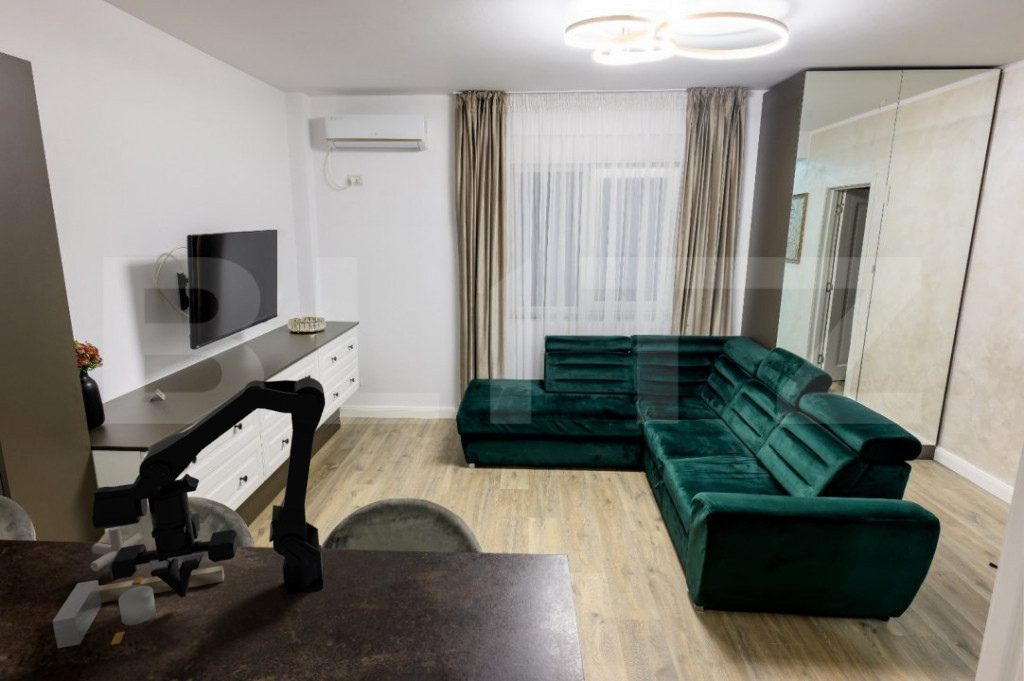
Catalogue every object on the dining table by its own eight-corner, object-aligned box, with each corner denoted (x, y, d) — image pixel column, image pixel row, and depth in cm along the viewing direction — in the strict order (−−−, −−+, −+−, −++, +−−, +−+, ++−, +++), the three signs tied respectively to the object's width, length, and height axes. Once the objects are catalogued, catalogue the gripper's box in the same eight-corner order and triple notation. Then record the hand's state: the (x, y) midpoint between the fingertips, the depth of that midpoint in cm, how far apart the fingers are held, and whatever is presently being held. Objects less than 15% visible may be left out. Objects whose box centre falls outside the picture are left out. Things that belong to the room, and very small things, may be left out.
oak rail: (224, 576, 110) (222, 563, 109) (222, 581, 108) (221, 568, 108) (90, 599, 103) (88, 585, 103) (87, 605, 102) (84, 591, 101)
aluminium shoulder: (102, 604, 102) (97, 580, 101) (79, 644, 92) (74, 617, 91) (82, 608, 101) (77, 583, 100) (57, 648, 92) (52, 621, 90)
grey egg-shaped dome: (159, 603, 102) (156, 583, 102) (151, 621, 98) (148, 601, 97) (127, 608, 101) (123, 589, 100) (117, 628, 96) (114, 607, 95)
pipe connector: (121, 594, 105) (113, 545, 102) (76, 587, 106) (67, 539, 104) (164, 562, 114) (157, 517, 112) (122, 556, 116) (114, 511, 114)
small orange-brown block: (124, 633, 95) (124, 631, 95) (119, 643, 93) (119, 641, 93) (116, 634, 95) (115, 633, 95) (111, 644, 92) (110, 643, 92)
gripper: (237, 486, 108) (246, 559, 111) (123, 502, 102) (137, 579, 106) (228, 515, 97) (238, 595, 101) (100, 535, 92) (117, 619, 95)
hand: (183, 595), depth 101 cm, fingers closed
